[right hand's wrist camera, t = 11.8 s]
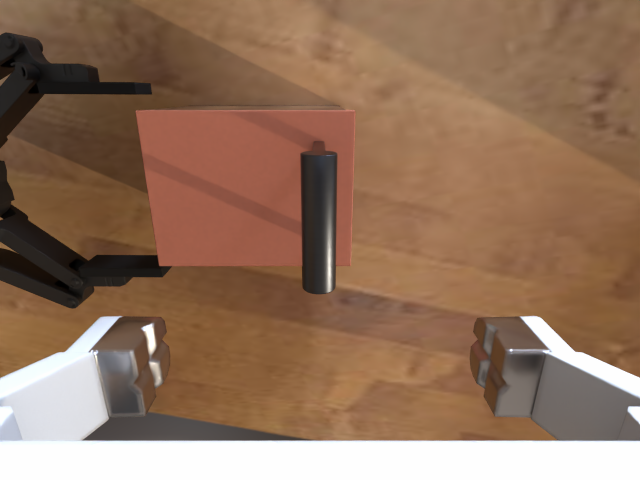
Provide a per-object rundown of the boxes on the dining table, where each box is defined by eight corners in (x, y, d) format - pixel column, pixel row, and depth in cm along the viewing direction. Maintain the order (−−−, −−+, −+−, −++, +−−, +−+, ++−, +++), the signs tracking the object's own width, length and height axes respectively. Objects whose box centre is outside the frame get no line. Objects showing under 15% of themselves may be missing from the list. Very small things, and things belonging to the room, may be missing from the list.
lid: (354, 110, 25) (370, 117, 17) (349, 260, 28) (361, 322, 20) (142, 109, 24) (61, 116, 17) (164, 260, 28) (106, 322, 20)
